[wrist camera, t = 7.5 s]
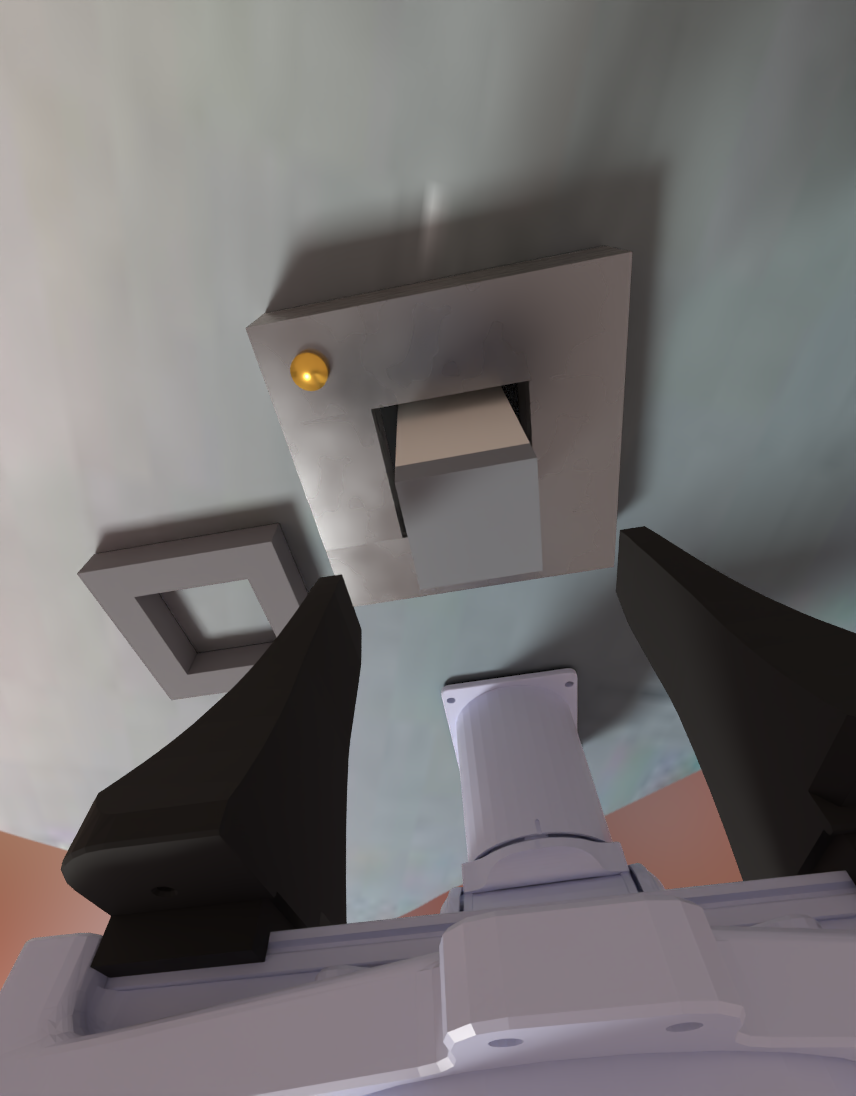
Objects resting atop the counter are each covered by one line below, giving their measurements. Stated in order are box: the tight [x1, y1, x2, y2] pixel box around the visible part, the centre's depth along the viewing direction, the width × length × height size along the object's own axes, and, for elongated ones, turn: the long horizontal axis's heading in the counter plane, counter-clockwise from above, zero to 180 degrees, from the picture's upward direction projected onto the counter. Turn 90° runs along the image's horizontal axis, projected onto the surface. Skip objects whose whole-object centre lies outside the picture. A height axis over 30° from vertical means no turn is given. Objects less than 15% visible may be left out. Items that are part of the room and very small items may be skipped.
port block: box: [246, 246, 632, 607], centre depth 19 cm, size 12×12×3 cm
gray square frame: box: [77, 523, 308, 700], centre depth 25 cm, size 9×9×2 cm
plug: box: [395, 386, 543, 590], centre depth 18 cm, size 4×4×7 cm
